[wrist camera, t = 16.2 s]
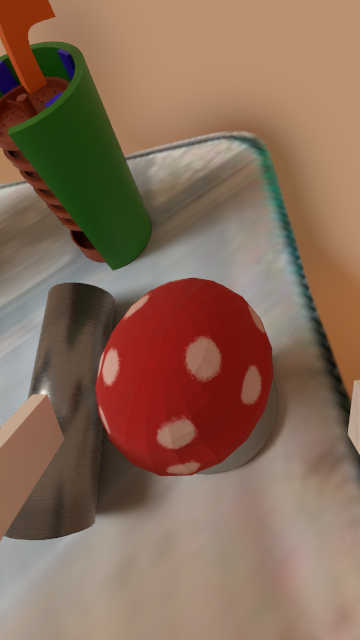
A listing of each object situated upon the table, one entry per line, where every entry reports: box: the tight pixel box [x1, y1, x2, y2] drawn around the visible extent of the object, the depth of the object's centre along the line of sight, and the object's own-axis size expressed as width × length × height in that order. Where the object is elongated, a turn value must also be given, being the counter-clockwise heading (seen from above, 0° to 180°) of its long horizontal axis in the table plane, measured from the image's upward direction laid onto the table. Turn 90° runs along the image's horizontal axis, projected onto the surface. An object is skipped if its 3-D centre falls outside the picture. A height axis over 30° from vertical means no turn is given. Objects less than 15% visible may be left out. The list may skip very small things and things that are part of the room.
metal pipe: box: [4, 283, 115, 540], centre depth 23 cm, size 6×18×6 cm, turn 1°
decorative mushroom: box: [95, 278, 273, 476], centre depth 16 cm, size 10×9×15 cm
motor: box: [0, 0, 151, 270], centre depth 24 cm, size 10×9×20 cm
